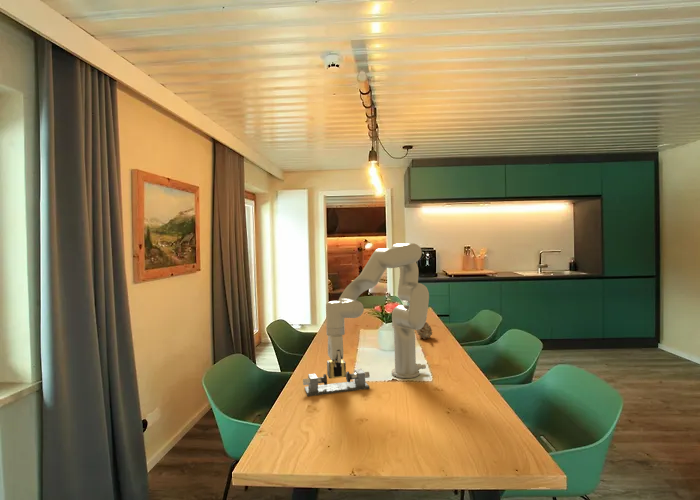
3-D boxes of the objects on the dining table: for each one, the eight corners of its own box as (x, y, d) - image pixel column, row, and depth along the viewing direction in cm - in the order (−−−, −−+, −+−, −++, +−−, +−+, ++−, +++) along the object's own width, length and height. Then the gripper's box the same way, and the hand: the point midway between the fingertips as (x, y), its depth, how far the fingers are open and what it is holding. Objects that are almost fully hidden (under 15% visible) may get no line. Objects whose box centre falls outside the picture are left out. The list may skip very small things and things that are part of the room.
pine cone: (414, 335, 255) (413, 320, 254) (428, 335, 255) (428, 319, 255) (422, 344, 233) (421, 327, 232) (438, 344, 233) (438, 327, 233)
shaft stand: (366, 381, 175) (365, 366, 175) (371, 388, 167) (371, 372, 167) (302, 389, 168) (301, 373, 168) (305, 396, 160) (304, 380, 160)
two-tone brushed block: (329, 378, 164) (329, 364, 164) (327, 375, 169) (326, 361, 169) (345, 376, 166) (345, 362, 166) (343, 373, 171) (343, 359, 170)
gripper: (322, 327, 174) (323, 368, 175) (330, 336, 158) (331, 382, 158) (339, 326, 176) (340, 367, 177) (349, 334, 160) (350, 380, 160)
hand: (336, 373), depth 167 cm, fingers closed on two-tone brushed block, 4 cm apart
